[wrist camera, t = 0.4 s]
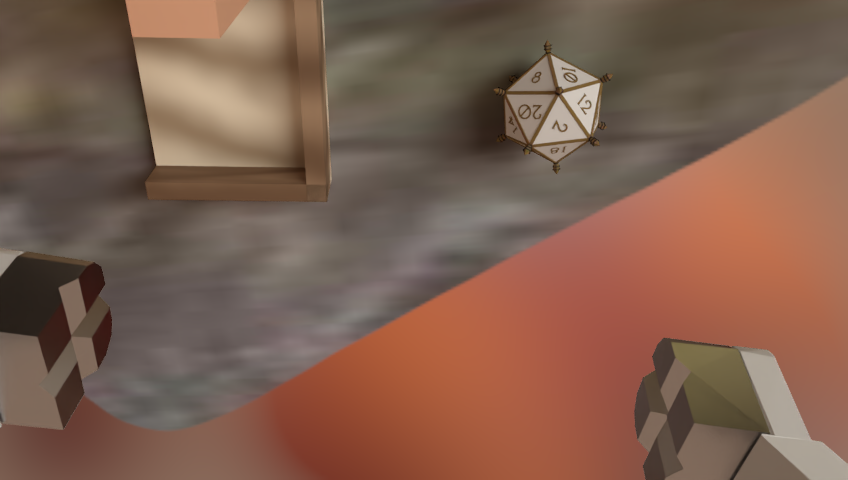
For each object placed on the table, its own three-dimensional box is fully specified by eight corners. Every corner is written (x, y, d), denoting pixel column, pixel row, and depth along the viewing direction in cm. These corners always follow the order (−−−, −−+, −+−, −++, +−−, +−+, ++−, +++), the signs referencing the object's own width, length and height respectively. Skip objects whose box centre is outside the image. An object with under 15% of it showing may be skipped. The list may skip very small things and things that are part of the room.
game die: (524, 95, 62) (471, 177, 57) (523, 8, 55) (463, 93, 51) (628, 122, 59) (582, 212, 54) (640, 34, 52) (588, 127, 47)
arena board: (110, -116, 50) (87, -108, 47) (317, -111, 50) (310, -104, 47) (163, 176, 62) (148, 199, 58) (331, 178, 62) (326, 201, 58)
